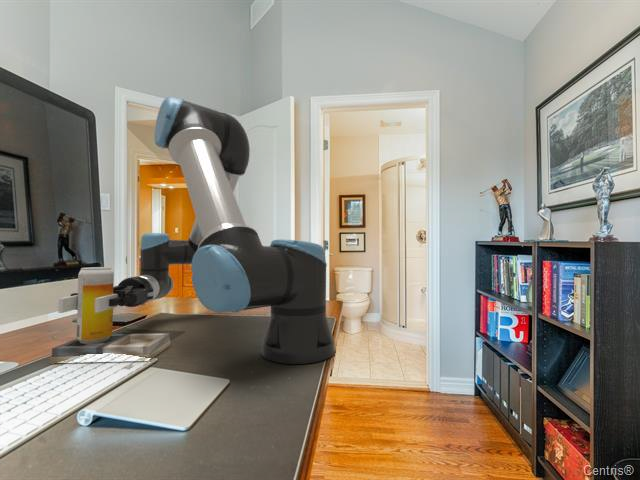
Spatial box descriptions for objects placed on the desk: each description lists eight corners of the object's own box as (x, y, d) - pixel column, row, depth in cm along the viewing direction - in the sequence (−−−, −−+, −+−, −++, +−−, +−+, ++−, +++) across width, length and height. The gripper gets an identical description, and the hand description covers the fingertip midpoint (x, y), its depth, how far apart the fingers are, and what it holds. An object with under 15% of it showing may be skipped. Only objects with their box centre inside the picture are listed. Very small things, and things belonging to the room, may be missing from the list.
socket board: (170, 345, 73) (170, 332, 73) (148, 361, 62) (148, 347, 62) (87, 347, 72) (87, 334, 72) (49, 364, 61) (50, 349, 61)
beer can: (117, 338, 68) (119, 267, 68) (84, 346, 63) (86, 269, 63) (103, 334, 71) (105, 266, 72) (71, 341, 66) (73, 268, 67)
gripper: (174, 304, 86) (129, 324, 63) (100, 305, 84) (26, 326, 61) (175, 276, 86) (130, 285, 63) (100, 276, 85) (27, 286, 62)
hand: (78, 305), depth 62 cm, fingers closed on beer can, 6 cm apart
